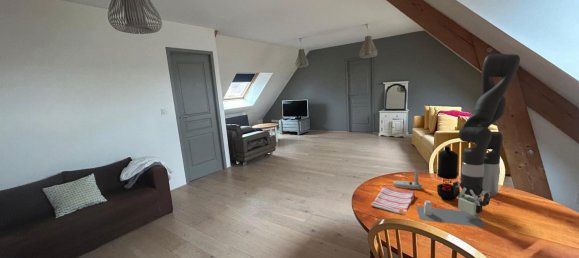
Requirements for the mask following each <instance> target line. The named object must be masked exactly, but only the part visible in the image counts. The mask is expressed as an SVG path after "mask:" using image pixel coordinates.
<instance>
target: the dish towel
mask: <svg viewBox="0 0 579 258" xmlns="http://www.w3.org/2000/svg"><path fill="white" fill-rule="evenodd" d="M414 198H415V191H414V190H399V189H394V188H391V187H389V186H386V185H385V186H383V187H382V189H381V190H380V192H379V193H378V195H376V198H375V199H374V201H372V202H371V204H370V206H371V207H374V208H376V209H381V210H384V211H387V212H391V213H393V214H398V215H404V216H407V214H406V213H407V212H408V209H409V208H408V207H410V206H411V205H412V202H413V201H414ZM401 210H403V212H406V213H403V212H402V211H401Z"/></svg>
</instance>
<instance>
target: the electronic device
mask: <svg viewBox="0 0 579 258" xmlns="http://www.w3.org/2000/svg"><path fill="white" fill-rule="evenodd" d="M413 179H414V181H407V180H394V181H393V182H392V183H393V184H392V185H393V187H395V188H399V187H400V188H402V189H408V188H409V190H421V189H422V187H423V185H422V183H420V182H419V172H418V171H414V177H413Z"/></svg>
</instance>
